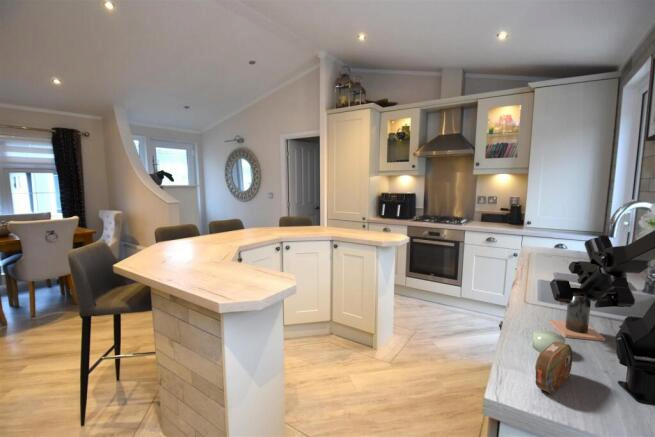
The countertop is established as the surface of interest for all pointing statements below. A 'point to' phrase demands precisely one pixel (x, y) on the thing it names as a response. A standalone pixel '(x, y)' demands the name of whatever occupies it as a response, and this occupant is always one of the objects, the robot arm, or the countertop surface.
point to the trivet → (570, 334)
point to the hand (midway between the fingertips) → (577, 304)
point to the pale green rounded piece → (545, 339)
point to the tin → (553, 366)
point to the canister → (578, 314)
